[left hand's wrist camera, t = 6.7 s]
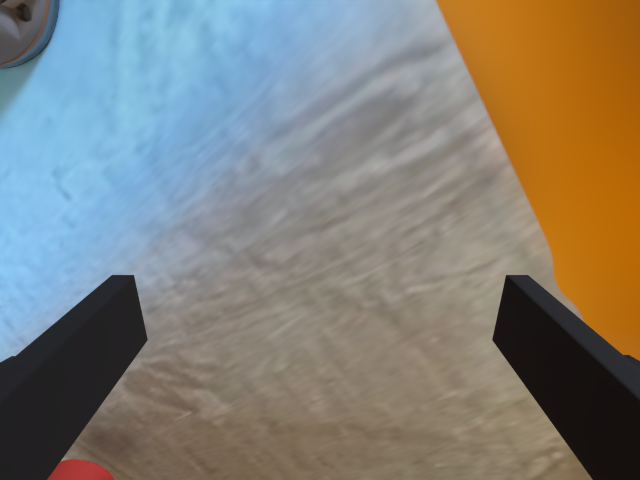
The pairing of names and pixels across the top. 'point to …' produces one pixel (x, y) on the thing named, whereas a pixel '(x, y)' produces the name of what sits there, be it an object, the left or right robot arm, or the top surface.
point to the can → (79, 471)
